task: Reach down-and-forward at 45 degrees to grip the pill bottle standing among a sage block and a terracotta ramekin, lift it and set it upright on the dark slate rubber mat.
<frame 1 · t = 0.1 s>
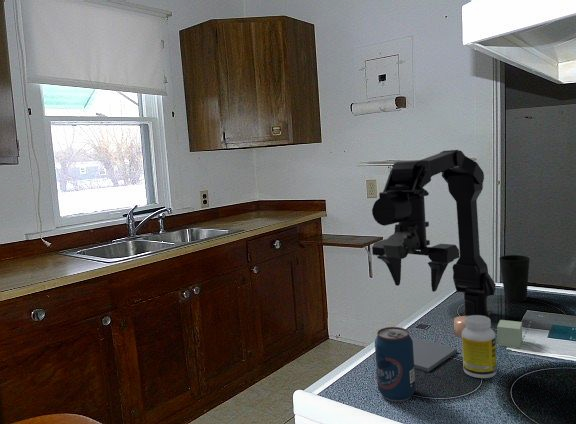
hand: (415, 288, 104), 15 cm above the counter, tool pointing down, fingers open, 9 cm apart
pill bottle: (480, 373, 93), on the counter
sage block: (510, 343, 105), on the counter
soda can: (397, 394, 88), on the counter
ramekin: (467, 334, 112), on the counter
cup: (515, 299, 134), on the counter
mat: (418, 354, 103), on the counter
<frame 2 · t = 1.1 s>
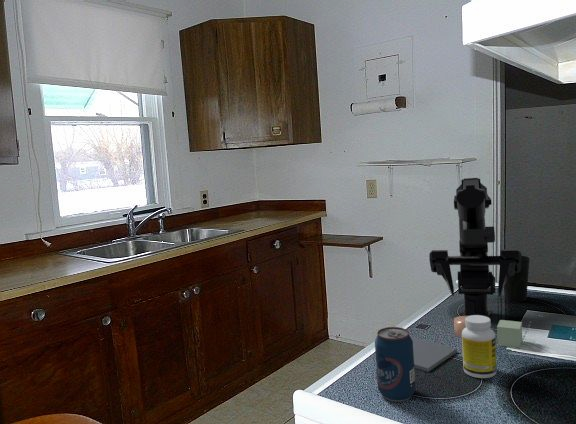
hand: (475, 295, 99), 13 cm above the counter, tool tilted 45°, fingers open, 9 cm apart
nothing on the counter moved.
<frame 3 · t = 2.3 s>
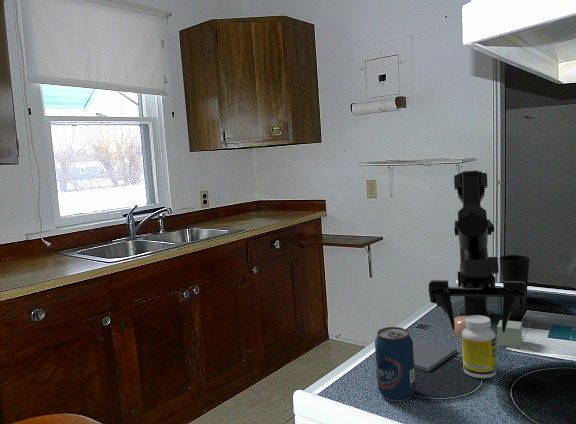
hand: (478, 330, 93), 8 cm above the counter, tool tilted 45°, fingers open, 9 cm apart
nothing on the counter moved.
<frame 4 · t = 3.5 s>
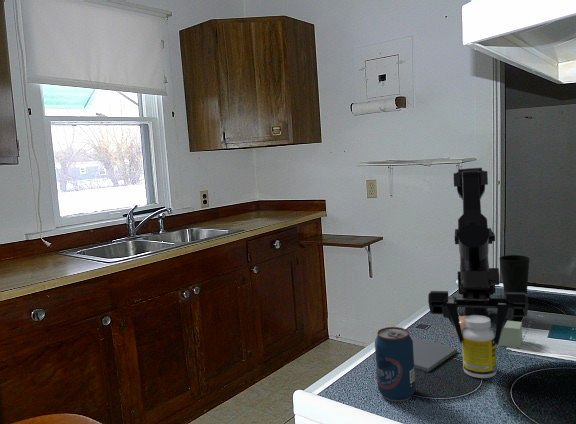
hand: (478, 343, 91), 7 cm above the counter, tool tilted 45°, fingers closed on pill bottle, 6 cm apart
pill bottle: (480, 373, 93), on the counter, touching gripper
everything else where it was.
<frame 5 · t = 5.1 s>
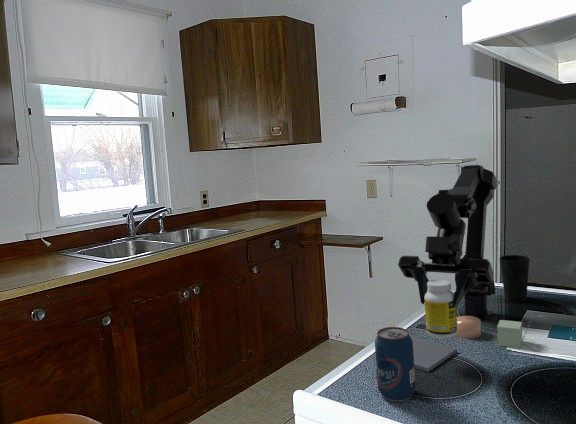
hand: (438, 304, 96), 13 cm above the counter, tool tilted 45°, fingers closed on pill bottle, 6 cm apart
pill bottle: (442, 334, 98), point 6 cm above the counter, touching gripper
everything else where it was.
when the fingers open (9 cm above the counter, at t = 6.8 s): pill bottle drops 1 cm, resting on mat.
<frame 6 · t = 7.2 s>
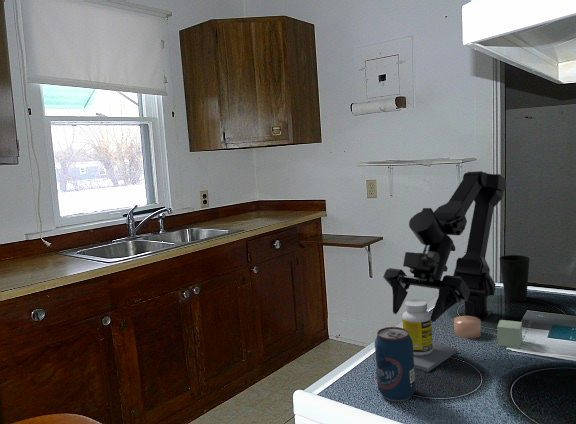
hand: (412, 317, 101), 9 cm above the counter, tool tilted 45°, fingers open, 9 cm apart
pill bottle: (418, 351, 103), point 1 cm above the counter, touching mat
everything else where it was.
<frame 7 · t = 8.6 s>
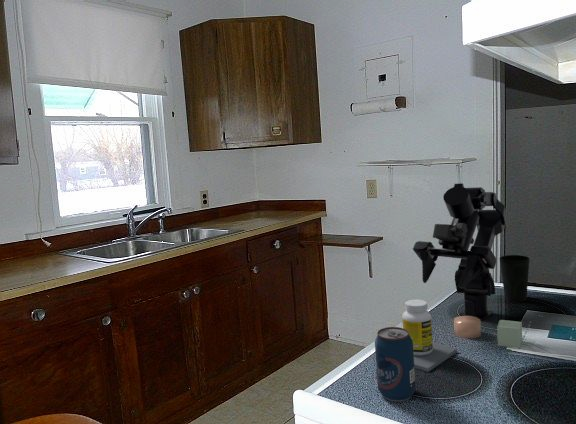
hand: (441, 284, 108), 13 cm above the counter, tool tilted 45°, fingers open, 9 cm apart
nothing on the counter moved.
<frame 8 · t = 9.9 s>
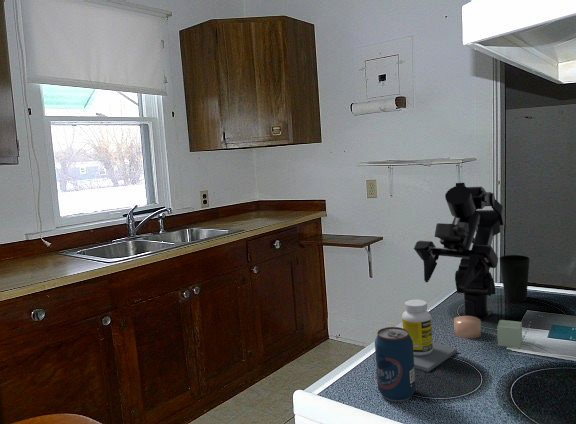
hand: (443, 284, 108), 14 cm above the counter, tool tilted 45°, fingers open, 9 cm apart
nothing on the counter moved.
at the end: pill bottle inside the target area on the mat (0.2 cm from its centre), point 0.6 cm above the mat's base; pill bottle tilted 0°; the gripper is holding nothing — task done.
